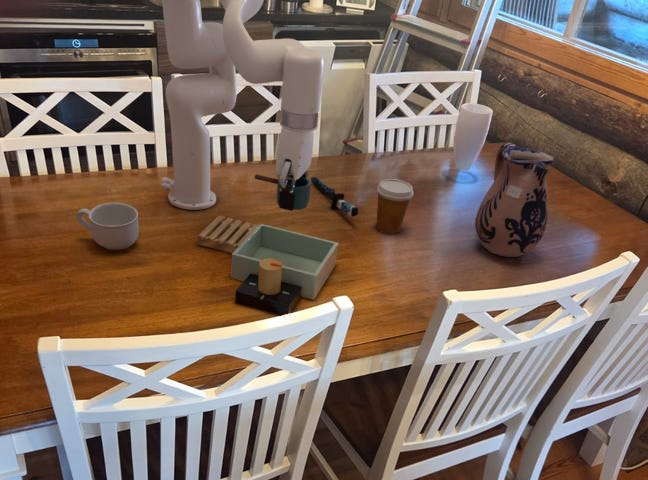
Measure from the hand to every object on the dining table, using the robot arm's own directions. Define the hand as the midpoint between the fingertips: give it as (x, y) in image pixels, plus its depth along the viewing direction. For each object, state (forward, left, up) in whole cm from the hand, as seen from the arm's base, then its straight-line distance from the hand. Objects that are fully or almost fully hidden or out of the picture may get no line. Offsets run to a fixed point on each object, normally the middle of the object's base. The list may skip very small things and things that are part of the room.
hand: (292, 201), depth 135 cm
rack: (-17, +6, -17) cm, 25 cm away
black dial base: (+1, -14, -17) cm, 22 cm away
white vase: (+30, +81, -17) cm, 88 cm away
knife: (-1, +40, -17) cm, 44 cm away
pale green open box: (0, -1, -17) cm, 17 cm away
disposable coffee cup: (+17, +33, -17) cm, 41 cm away
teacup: (-41, -8, -17) cm, 45 cm away
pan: (-3, 0, 0) cm, 3 cm away
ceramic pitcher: (+46, +38, -17) cm, 62 cm away
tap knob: (+1, -14, -14) cm, 20 cm away
